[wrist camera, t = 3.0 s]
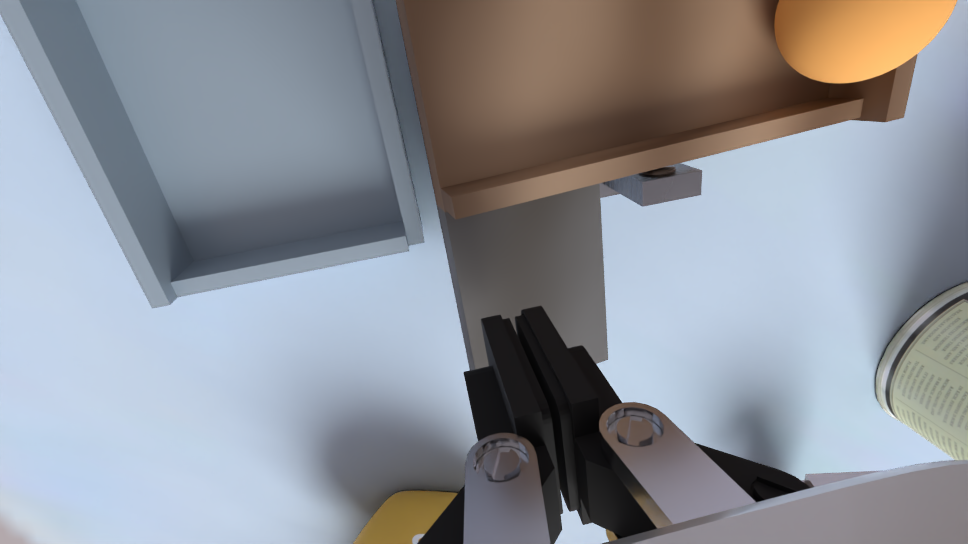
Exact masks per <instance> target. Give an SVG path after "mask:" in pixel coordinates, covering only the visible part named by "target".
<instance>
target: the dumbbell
mask: <svg viewBox="0 0 968 544" xmlns="http://www.w3.org/2000/svg"><path fill="white" fill-rule="evenodd" d="M457 494H458V493H453V492H440V491H412V490H411V491H401V492H397V493H395V494H393V495H392V496H390V497H389V498H388V499H387V500H386V501H385V502H384V503H383V504H382V505H381V507H380V508H379V509H378V510H377V511H376V513H375V514H374V515H373V516H372V518H371V519H370V520H369V522H368V523H367V524H366V526H365V527H364V528H363V530H362V531H361V532H360V534H359V535H358V537H357V538H356V540H355V541H354V543H353V544H417V543H418V542H419V541H420V539H421V538H422V537H423V536H424V535H425V533H426V532H427V531H428V530H429V528H430V527H431V526H432V525H433V523H434V522H435V521H436V520H437V519H438V517H439V516H440V515H441V514H442V512H443V511H444V510H445V509H446V508H447V506H448V505H449V504H450V503H451V501H452V500H453V499H454V498H455V496H456V495H457Z"/></svg>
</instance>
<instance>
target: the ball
mask: <svg viewBox="0 0 968 544" xmlns="http://www.w3.org/2000/svg"><path fill="white" fill-rule="evenodd" d="M956 2H957V0H779V2H778V5H777V9H776V13H775V23H774V28H775V37H776V42H777V45H778V48H779V50H780V53H781V54H782V56H783V57H784V59H785V60H786V62H787V63H788V64H789V65H790V66H791V67H792V68H793V69H794V70H796V71H797V72H799V73H800V74H802V75H804V76H806V77H808V78H810V79H813V80H817V81H821V82H825V83H839V84H840V83H852V82H858V81H863V80H867V79H870V78H874V77H876V76H879V75H882V74H884V73H886V72H889V71H891V70H893V69H895V68H897V67H898V66H900V65H902V64H903V63H905V62H906V61H908V60H909V59H911V58H912V57H914V56H915V55H916V54H918V53H919V52H920V51H921V50H922V49H923V48H924V47H925V46H927V45H928V44H929V43H930V42H931V41H932V40H933V39H934V37H935V36H936V35H937V34H938V33H939V31H940V30H941V29H942V27H943V26H944V25H945V23H946V22H947V20H948V19H949V17H950V15H951V13H952V11H953V9H954V7H955V5H956Z"/></svg>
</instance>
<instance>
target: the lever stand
mask: <svg viewBox="0 0 968 544" xmlns="http://www.w3.org/2000/svg"><path fill="white" fill-rule="evenodd" d="M701 182H702V170H699V169H696V168H693V167H690V166H687V165H684V164H681V163H678V164H674V165H670V166H666V167H662V168H658V169H654V170H650V171H646V172H642V173H638V174H634V175H630V176H627V177H623V178H619V179H615V180H611V181H607V182H603V183H599V184H600V198H602V197H607V196H612V195H617V194H622V195H623V196H625V197H627V198H629V199H630V200H632V201H634V202H636V203H637V204H639V205H641V206H648V205H653V204H658V203H663V202H668V201H673V200H678V199H683V198H688V197H693V196H698V195H701Z"/></svg>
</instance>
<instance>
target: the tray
mask: <svg viewBox="0 0 968 544" xmlns="http://www.w3.org/2000/svg"><path fill="white" fill-rule="evenodd" d="M0 14H1V16H2V18H3V20H4V22H5V24H6V26H7V28H8V30H9V32H10V34H11V36H12V38H13V40H14V42H15V44H16V45H17V47H18V49H19V51H20V53H21V55H22V57H23V59H24V61H25V63H26V65H27V67H28V69H29V71H30V73H31V75H32V76H33V78H34V80H35V82H36V84H37V86H38V88H39V90H40V92H41V94H42V96H43V98H44V100H45V102H46V104H47V106H48V107H49V109H50V111H51V113H52V115H53V117H54V119H55V121H56V123H57V125H58V127H59V129H60V131H61V133H62V135H63V137H64V138H65V140H66V142H67V144H68V146H69V148H70V150H71V152H72V154H73V156H74V158H75V160H76V162H77V164H78V166H79V168H80V170H81V171H82V173H83V175H84V177H85V179H86V181H87V183H88V185H89V187H90V189H91V191H92V193H93V195H94V197H95V199H96V201H97V202H98V204H99V206H100V208H101V210H102V212H103V214H104V216H105V218H106V220H107V222H108V224H109V226H110V228H111V230H112V232H113V233H114V235H115V237H116V239H117V241H118V243H119V245H120V247H121V249H122V251H123V253H124V255H125V257H126V259H127V261H128V263H129V264H130V266H131V268H132V270H133V272H134V274H135V276H136V278H137V280H138V282H139V284H140V286H141V288H142V290H143V292H144V294H145V295H146V297H147V299H148V301H149V303H150V305H151V307H152V308H157V307H162V306H167V305H170V304H171V303H172V302H173V301H174V300H175V299H176V298H177V297H181V296H186V295H191V294H196V293H201V292H206V291H211V290H216V289H221V288H226V287H231V286H236V285H241V284H246V283H251V282H256V281H261V280H266V279H271V278H276V277H281V276H286V275H291V274H297V273H302V272H307V271H312V270H317V269H322V268H327V267H332V266H337V265H342V264H347V263H352V262H357V261H362V260H367V259H372V258H377V257H382V256H387V255H392V254H397V253H402V252H407V251H409V245H414V244H419V243H424V237H423V229H422V223H421V219H420V214H419V210H418V205H417V200H416V196H415V191H414V187H413V182H412V178H411V173H410V169H409V164H408V159H407V155H406V150H405V146H404V141H403V137H402V132H401V127H400V123H399V118H398V114H397V109H396V105H395V100H394V96H393V91H392V86H391V82H390V77H389V73H388V68H387V64H386V59H385V54H384V50H383V45H382V41H381V36H380V32H379V27H378V23H377V18H376V13H375V9H374V4H373V0H0Z"/></svg>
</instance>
